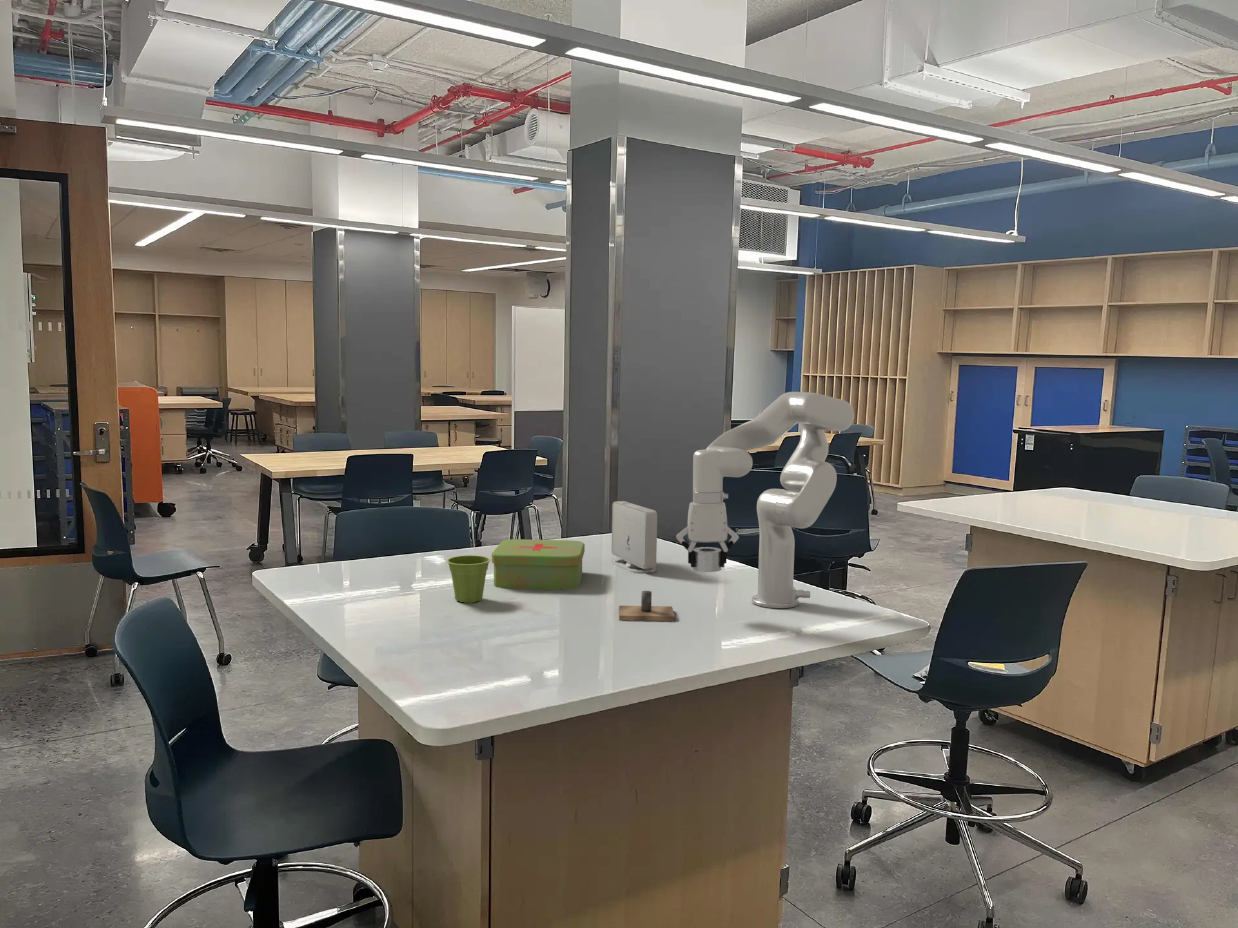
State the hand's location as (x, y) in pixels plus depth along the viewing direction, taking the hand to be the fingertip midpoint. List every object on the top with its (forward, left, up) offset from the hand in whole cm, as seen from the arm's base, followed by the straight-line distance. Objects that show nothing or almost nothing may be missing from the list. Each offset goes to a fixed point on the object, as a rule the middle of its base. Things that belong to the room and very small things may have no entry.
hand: (707, 565), depth 231 cm
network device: (+17, -60, -13) cm, 64 cm away
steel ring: (0, 0, -1) cm, 1 cm away
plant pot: (+63, -13, -13) cm, 66 cm away
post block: (+15, 0, -13) cm, 20 cm away
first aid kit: (+46, -40, -14) cm, 63 cm away
